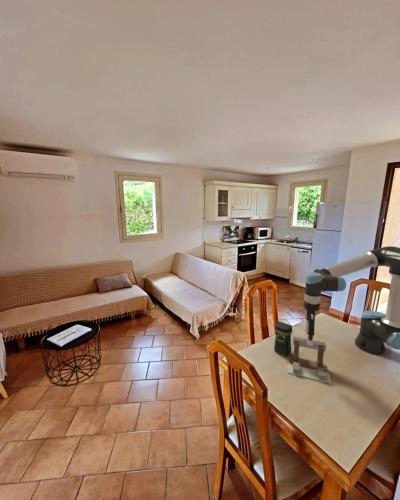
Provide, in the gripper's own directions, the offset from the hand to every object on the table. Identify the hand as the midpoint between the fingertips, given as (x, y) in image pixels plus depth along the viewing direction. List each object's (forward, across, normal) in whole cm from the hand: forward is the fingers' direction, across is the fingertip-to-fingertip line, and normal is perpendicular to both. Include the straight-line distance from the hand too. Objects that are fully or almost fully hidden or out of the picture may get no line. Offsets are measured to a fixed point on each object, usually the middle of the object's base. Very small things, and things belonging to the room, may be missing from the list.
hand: (308, 338), depth 121 cm
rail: (+5, 0, 0) cm, 5 cm away
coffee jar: (+16, -7, -13) cm, 22 cm away
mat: (+16, +8, 0) cm, 18 cm away
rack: (+16, 0, 0) cm, 16 cm away
